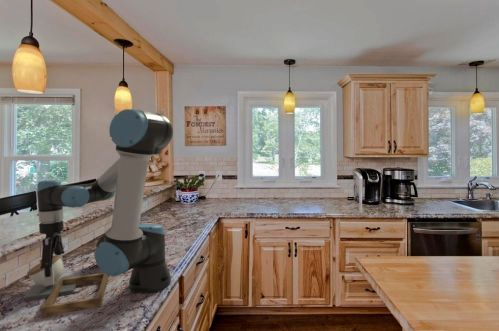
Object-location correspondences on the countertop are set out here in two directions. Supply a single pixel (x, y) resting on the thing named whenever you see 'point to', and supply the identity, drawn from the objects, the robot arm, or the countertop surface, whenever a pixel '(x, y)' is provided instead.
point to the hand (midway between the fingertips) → (54, 277)
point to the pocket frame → (78, 305)
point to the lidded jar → (38, 273)
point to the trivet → (50, 289)
